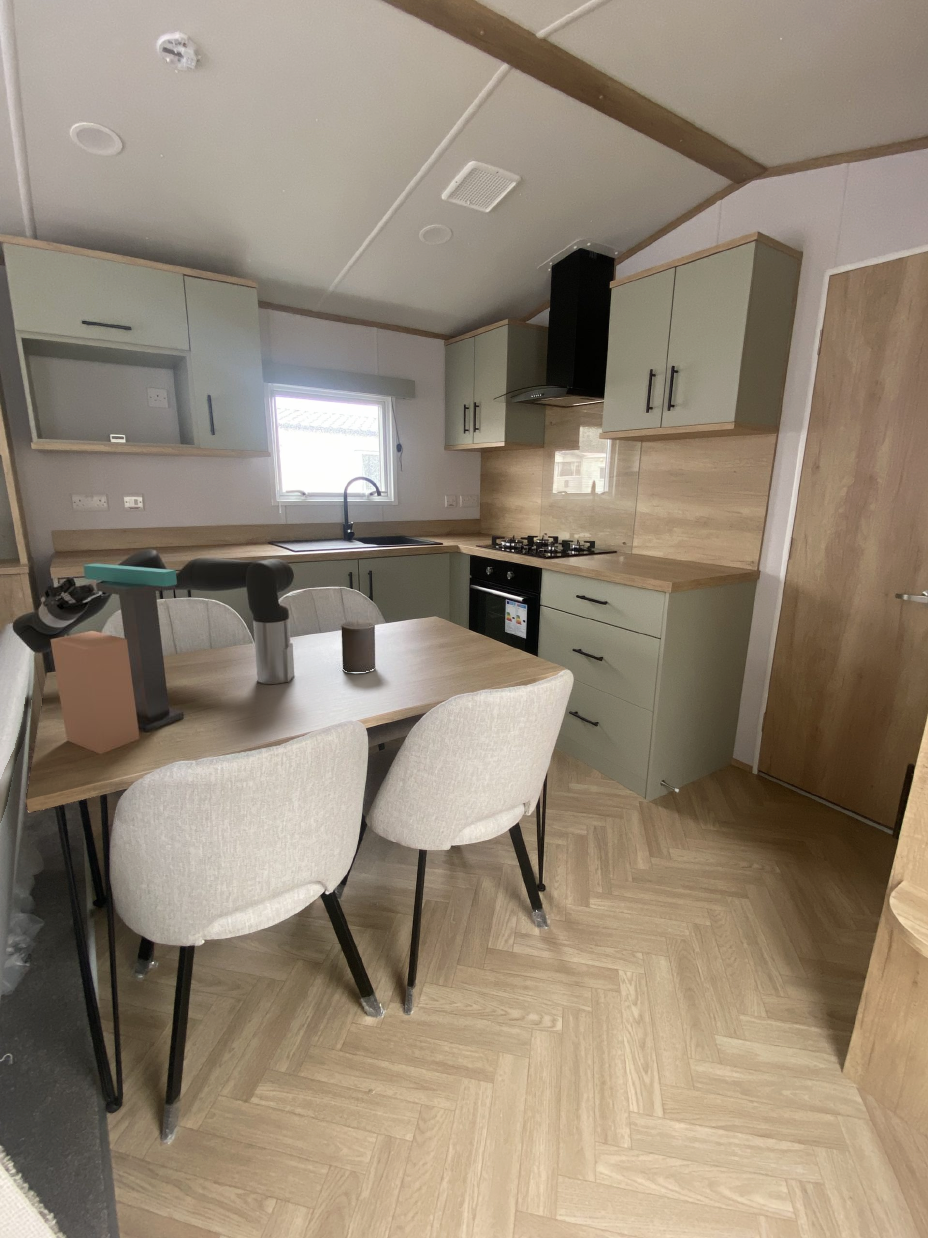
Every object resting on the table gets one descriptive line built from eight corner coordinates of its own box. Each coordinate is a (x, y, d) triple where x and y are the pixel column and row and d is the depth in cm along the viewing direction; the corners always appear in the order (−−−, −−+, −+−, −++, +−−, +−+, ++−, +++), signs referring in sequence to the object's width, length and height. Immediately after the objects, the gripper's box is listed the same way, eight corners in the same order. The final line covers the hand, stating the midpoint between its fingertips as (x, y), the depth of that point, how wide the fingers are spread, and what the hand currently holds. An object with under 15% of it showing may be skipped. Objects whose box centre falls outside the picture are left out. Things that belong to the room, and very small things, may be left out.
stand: (115, 724, 124) (95, 583, 116) (161, 708, 133) (146, 576, 126) (143, 734, 119) (124, 588, 112) (189, 716, 129) (174, 581, 121)
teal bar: (85, 578, 121) (83, 565, 121) (97, 576, 124) (95, 563, 123) (165, 586, 115) (164, 572, 114) (177, 584, 118) (175, 570, 117)
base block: (67, 740, 116) (50, 639, 111) (106, 726, 123) (92, 630, 118) (100, 754, 111) (84, 649, 105) (139, 738, 118) (126, 639, 112)
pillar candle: (335, 671, 161) (334, 621, 158) (354, 662, 170) (353, 614, 166) (364, 676, 158) (363, 625, 154) (382, 666, 167) (381, 618, 163)
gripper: (100, 615, 139) (130, 589, 131) (35, 627, 127) (65, 598, 119) (88, 588, 139) (117, 560, 131) (22, 597, 127) (51, 566, 119)
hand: (92, 578), depth 125 cm, fingers open, 8 cm apart
